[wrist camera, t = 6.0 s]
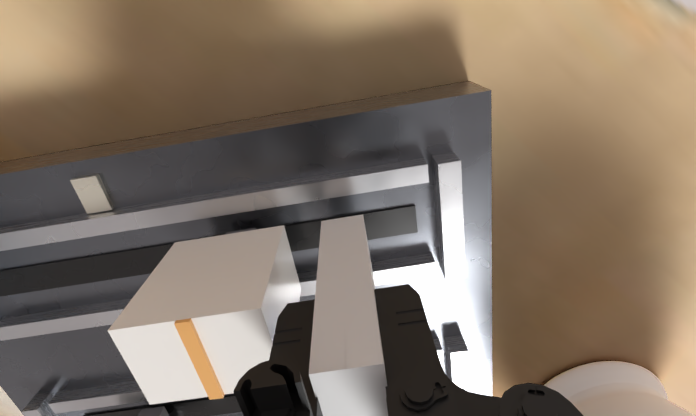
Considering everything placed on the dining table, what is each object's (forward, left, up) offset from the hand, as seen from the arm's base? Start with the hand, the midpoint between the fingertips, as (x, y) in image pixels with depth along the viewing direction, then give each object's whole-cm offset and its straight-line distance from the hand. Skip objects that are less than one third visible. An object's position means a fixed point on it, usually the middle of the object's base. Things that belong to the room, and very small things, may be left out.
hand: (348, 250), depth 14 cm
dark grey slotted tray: (-6, -5, -4) cm, 9 cm away
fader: (-4, 0, -1) cm, 4 cm away
